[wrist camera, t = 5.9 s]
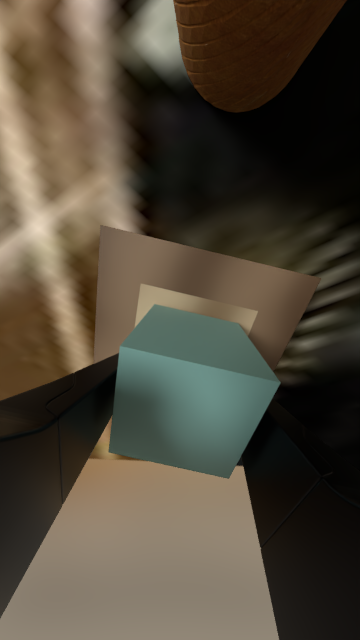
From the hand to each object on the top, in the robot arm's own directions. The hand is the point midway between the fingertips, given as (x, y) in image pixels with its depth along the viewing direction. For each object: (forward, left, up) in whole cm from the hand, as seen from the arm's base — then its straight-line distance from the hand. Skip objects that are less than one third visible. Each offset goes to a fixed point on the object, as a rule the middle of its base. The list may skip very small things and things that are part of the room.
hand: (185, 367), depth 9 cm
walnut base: (0, 0, -4) cm, 5 cm away
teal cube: (0, 0, -2) cm, 2 cm away
